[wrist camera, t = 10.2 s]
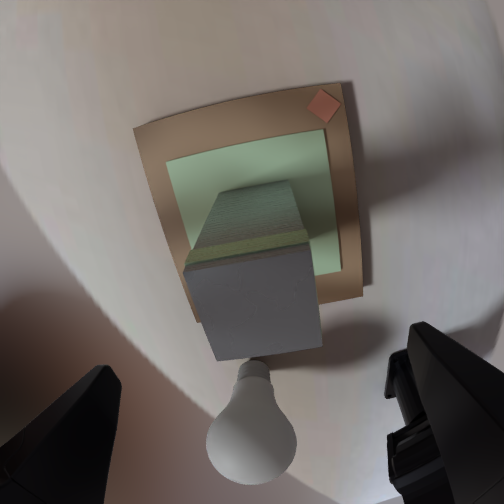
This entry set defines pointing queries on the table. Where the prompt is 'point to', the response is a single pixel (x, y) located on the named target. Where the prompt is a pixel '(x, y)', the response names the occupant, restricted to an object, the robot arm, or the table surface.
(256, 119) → the stand plate
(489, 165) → the table surface
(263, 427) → the lightbulb
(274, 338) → the column
